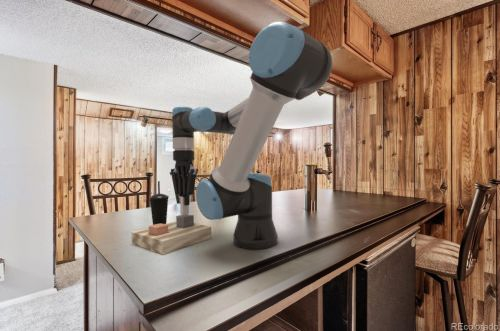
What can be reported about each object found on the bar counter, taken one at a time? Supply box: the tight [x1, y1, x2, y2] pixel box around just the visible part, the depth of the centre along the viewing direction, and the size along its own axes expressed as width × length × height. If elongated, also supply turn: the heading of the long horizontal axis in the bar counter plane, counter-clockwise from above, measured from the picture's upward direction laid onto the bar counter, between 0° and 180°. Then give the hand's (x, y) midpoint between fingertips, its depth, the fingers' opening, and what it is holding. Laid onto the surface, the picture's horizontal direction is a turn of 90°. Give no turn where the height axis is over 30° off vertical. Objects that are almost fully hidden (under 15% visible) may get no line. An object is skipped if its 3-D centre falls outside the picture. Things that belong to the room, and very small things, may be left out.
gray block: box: [175, 213, 195, 228], centre depth 92 cm, size 4×4×5 cm
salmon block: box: [148, 223, 168, 236], centre depth 83 cm, size 4×4×5 cm
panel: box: [131, 221, 213, 256], centre depth 87 cm, size 18×20×4 cm
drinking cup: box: [148, 180, 170, 225], centre depth 102 cm, size 8×8×20 cm
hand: (184, 213), depth 92 cm, fingers closed
